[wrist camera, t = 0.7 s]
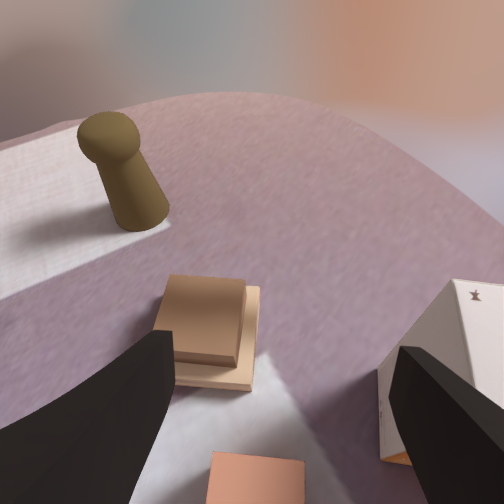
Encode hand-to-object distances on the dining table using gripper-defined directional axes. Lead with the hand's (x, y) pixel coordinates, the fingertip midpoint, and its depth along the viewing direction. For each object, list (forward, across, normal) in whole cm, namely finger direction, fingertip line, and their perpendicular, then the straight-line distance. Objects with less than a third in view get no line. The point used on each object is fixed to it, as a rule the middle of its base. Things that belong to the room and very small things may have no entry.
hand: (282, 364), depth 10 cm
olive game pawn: (+26, +15, +2) cm, 30 cm away
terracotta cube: (+5, 0, +15) cm, 16 cm away
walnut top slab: (+13, +5, +8) cm, 16 cm away
